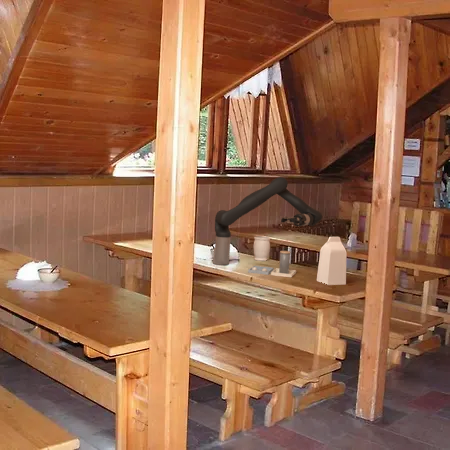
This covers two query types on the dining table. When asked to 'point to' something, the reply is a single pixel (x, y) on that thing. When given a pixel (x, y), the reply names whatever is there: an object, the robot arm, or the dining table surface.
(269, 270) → the tray
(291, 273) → the tray
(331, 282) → the milk
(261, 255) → the jar
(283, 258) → the canister
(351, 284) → the dining table surface
